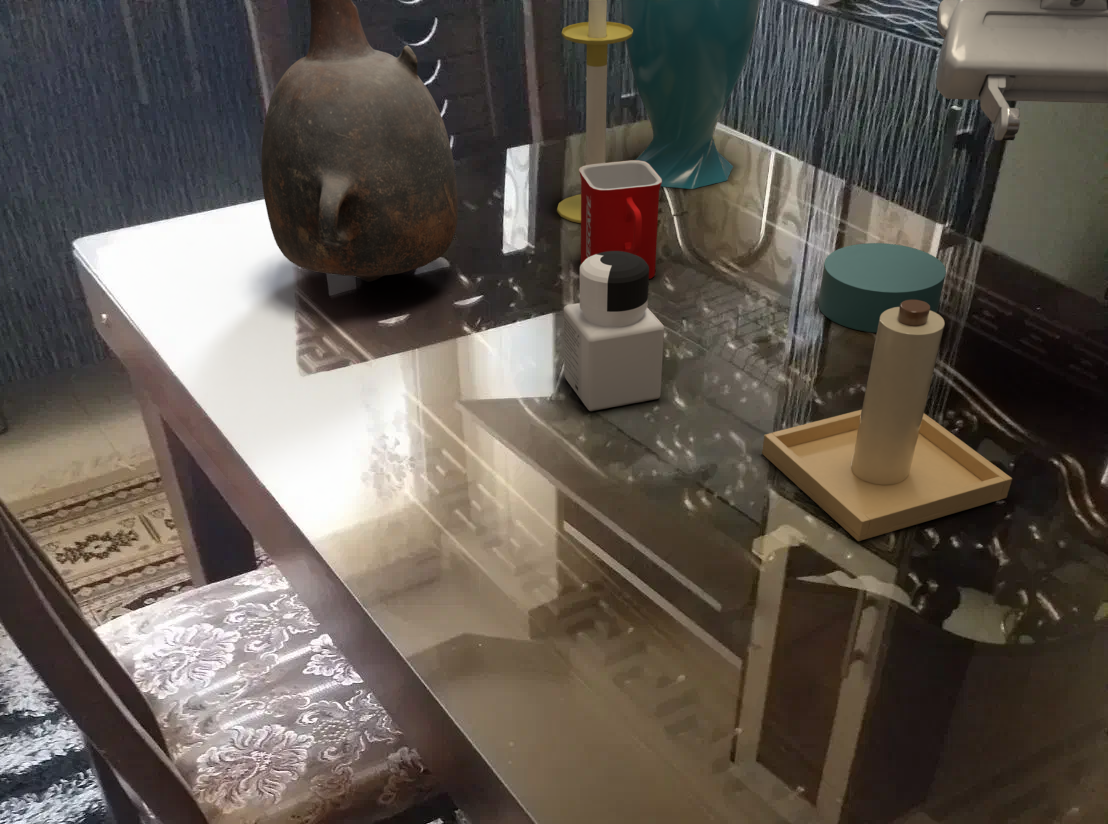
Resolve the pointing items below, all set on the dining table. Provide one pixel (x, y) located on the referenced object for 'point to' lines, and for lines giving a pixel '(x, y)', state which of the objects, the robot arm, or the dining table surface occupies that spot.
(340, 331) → the dining table surface
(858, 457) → the canister
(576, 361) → the container
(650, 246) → the mug
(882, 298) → the stand
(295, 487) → the dining table surface
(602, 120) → the candle
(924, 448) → the tray
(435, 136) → the jug
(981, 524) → the dining table surface
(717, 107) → the vase
